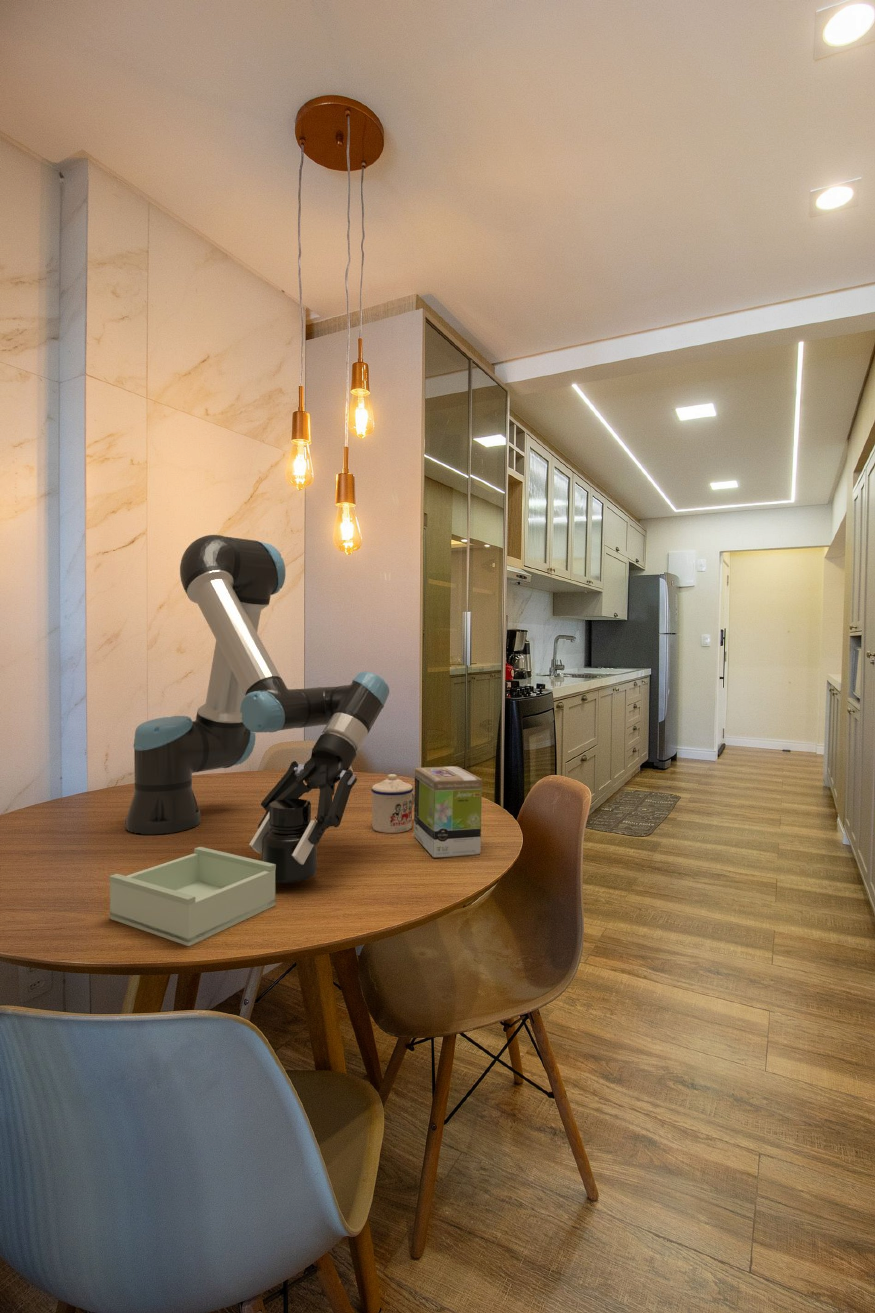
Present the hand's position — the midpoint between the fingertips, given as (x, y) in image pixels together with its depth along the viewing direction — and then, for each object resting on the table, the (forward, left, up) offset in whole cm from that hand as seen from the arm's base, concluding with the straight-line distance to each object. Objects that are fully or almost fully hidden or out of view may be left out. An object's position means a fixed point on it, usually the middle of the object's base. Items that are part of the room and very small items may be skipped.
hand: (275, 854), depth 108 cm
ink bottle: (0, +3, -5) cm, 6 cm away
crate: (-4, -13, -6) cm, 15 cm away
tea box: (+12, +35, -6) cm, 38 cm away
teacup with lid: (-4, +41, -6) cm, 42 cm away
